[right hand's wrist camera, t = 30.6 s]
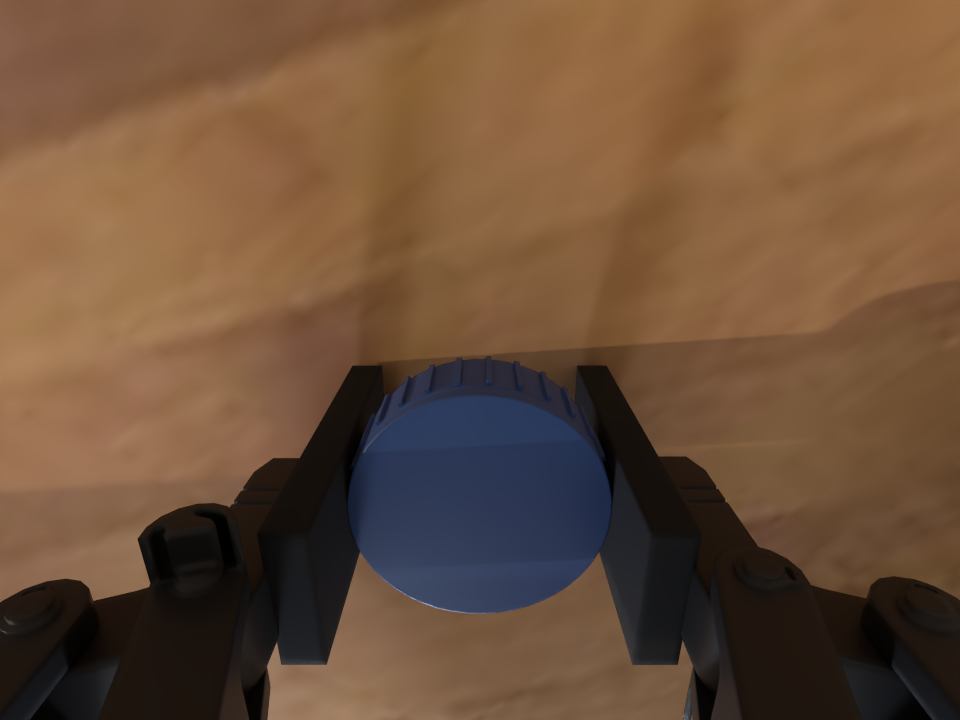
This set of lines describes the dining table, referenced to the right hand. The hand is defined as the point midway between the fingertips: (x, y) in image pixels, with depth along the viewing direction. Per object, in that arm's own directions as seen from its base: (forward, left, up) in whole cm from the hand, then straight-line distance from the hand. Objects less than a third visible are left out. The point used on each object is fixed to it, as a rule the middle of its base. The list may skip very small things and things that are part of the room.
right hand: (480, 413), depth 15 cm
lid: (0, 0, +4) cm, 4 cm away
